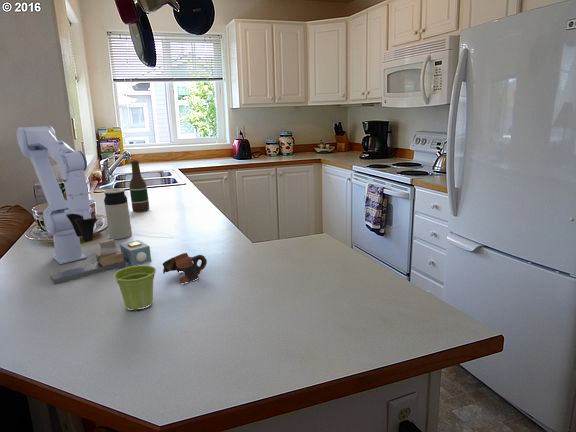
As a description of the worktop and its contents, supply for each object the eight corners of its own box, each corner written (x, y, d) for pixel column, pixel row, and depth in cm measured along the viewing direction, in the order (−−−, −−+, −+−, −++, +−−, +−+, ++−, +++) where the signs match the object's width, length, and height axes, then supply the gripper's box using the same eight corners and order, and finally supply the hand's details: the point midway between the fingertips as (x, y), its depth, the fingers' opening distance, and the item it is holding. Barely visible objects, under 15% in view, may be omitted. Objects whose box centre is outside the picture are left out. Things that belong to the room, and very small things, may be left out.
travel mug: (117, 241, 155) (110, 192, 151) (105, 237, 160) (98, 191, 155) (136, 235, 161) (130, 189, 157) (124, 232, 166) (118, 187, 161)
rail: (50, 279, 121) (49, 274, 120) (121, 261, 133) (120, 256, 133) (54, 284, 117) (53, 279, 116) (126, 265, 129) (126, 260, 129)
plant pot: (145, 294, 108) (141, 262, 106) (167, 303, 102) (163, 270, 100) (111, 308, 101) (105, 274, 99) (132, 319, 95) (127, 283, 93)
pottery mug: (171, 291, 111) (159, 262, 111) (171, 293, 119) (159, 266, 120) (213, 271, 115) (201, 244, 115) (210, 274, 123) (198, 249, 124)
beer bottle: (131, 209, 205) (125, 160, 199) (148, 207, 208) (142, 159, 202) (133, 213, 198) (126, 162, 192) (150, 210, 201) (144, 160, 195)
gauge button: (129, 254, 133) (127, 243, 132) (138, 252, 135) (137, 241, 134) (132, 256, 131) (131, 245, 130) (142, 254, 133) (140, 243, 132)
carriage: (96, 261, 129) (93, 241, 127) (116, 256, 132) (113, 236, 131) (103, 266, 124) (99, 245, 123) (123, 261, 128) (120, 240, 126)
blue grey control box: (122, 259, 135) (119, 244, 134) (140, 254, 139) (138, 240, 138) (132, 266, 128) (130, 250, 127) (151, 261, 132) (149, 246, 131)
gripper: (56, 192, 126) (63, 236, 129) (68, 199, 115) (77, 246, 118) (81, 189, 130) (88, 231, 133) (95, 195, 119) (103, 241, 123)
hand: (84, 238), depth 126 cm, fingers open, 7 cm apart
